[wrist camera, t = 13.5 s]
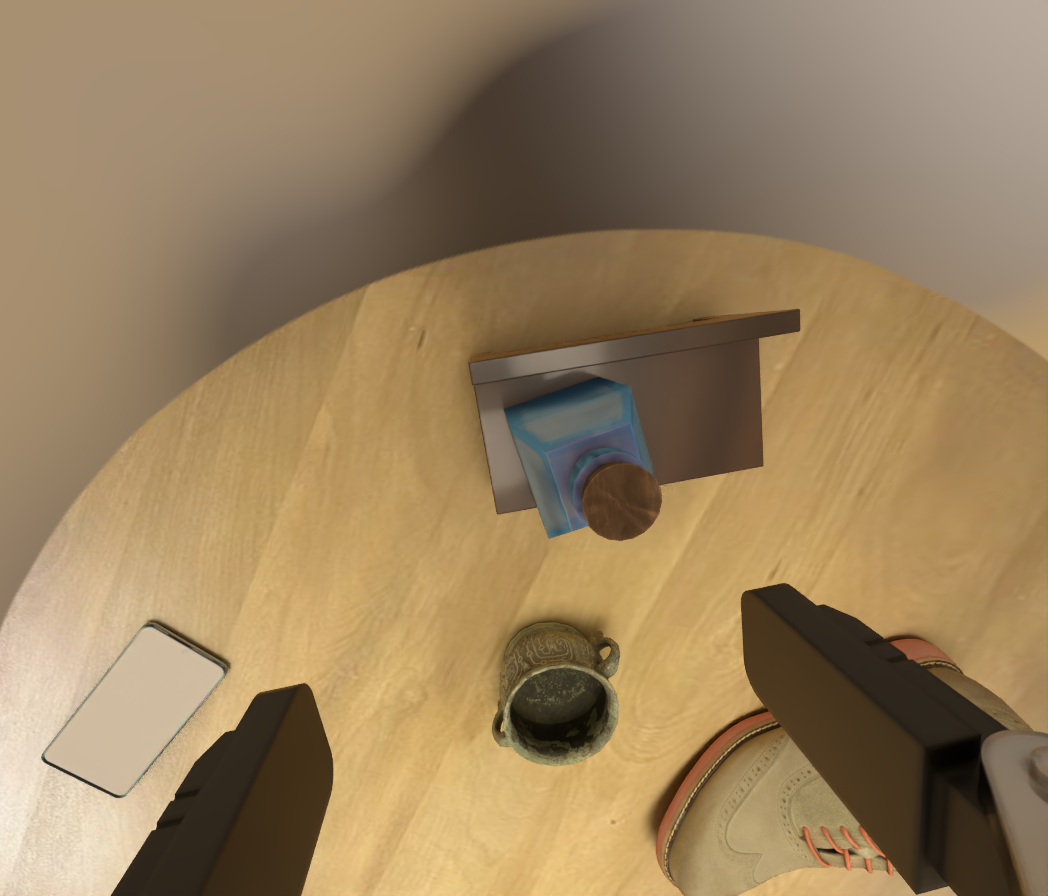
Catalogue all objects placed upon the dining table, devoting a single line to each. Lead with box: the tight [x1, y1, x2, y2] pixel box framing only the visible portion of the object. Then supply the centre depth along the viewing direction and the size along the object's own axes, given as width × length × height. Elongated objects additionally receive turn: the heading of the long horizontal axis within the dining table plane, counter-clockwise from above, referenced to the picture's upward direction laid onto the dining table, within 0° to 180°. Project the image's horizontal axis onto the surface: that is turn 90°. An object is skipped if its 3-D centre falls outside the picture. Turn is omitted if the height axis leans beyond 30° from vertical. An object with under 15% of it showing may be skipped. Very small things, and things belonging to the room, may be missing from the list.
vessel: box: [492, 622, 620, 766], centre depth 38 cm, size 12×9×6 cm
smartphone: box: [41, 623, 228, 798], centre depth 38 cm, size 7×1×15 cm
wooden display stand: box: [469, 309, 800, 514], centre depth 31 cm, size 18×10×10 cm, turn 99°
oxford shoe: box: [656, 639, 1033, 896], centre depth 40 cm, size 11×32×12 cm, turn 130°
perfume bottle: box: [504, 377, 662, 541], centre depth 25 cm, size 6×6×12 cm
